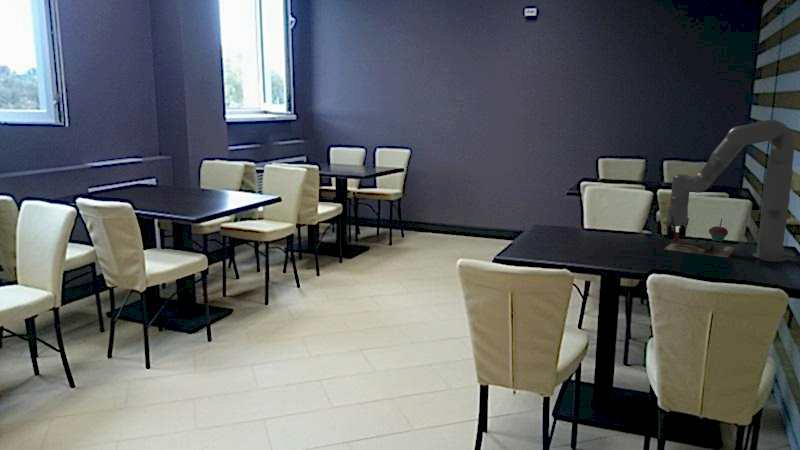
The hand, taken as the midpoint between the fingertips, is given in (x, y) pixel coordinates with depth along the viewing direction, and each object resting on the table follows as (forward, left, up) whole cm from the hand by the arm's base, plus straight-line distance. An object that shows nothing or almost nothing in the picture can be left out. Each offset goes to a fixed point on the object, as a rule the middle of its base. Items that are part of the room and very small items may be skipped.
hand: (676, 237), depth 283 cm
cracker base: (-11, +1, -5) cm, 12 cm away
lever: (-9, +1, -3) cm, 10 cm away
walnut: (-14, +8, -4) cm, 17 cm away
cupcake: (-14, -29, -5) cm, 33 cm away
